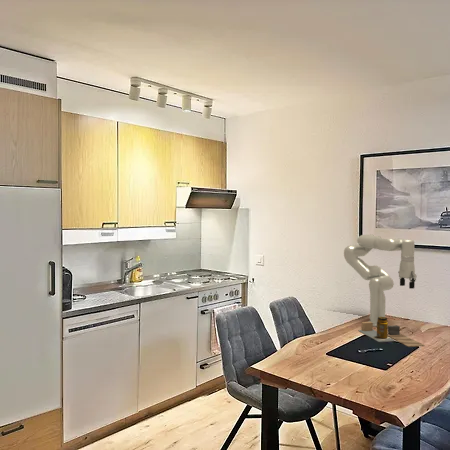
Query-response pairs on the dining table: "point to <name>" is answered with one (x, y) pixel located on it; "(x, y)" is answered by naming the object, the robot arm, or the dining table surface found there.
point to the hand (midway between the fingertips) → (407, 287)
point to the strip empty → (401, 337)
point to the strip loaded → (371, 331)
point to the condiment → (382, 329)
